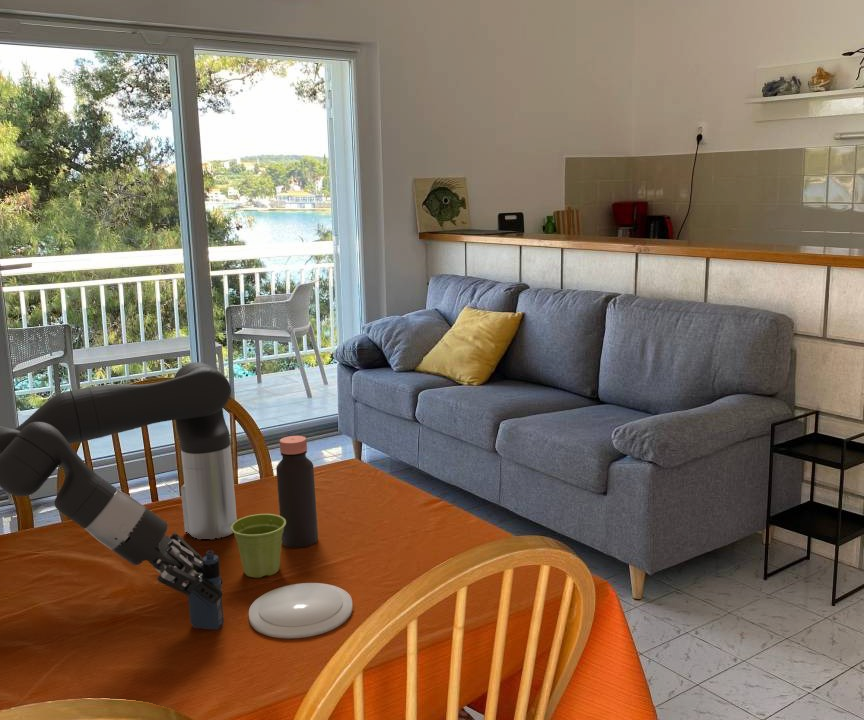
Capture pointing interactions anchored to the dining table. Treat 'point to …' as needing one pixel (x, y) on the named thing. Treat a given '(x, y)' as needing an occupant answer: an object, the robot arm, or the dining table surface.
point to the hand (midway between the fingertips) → (218, 592)
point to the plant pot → (259, 543)
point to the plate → (300, 610)
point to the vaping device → (202, 609)
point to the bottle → (297, 493)
